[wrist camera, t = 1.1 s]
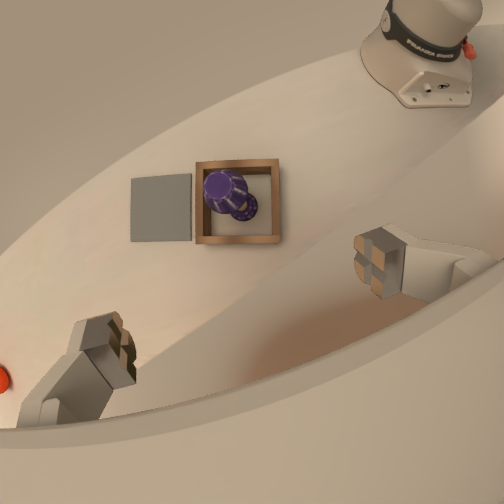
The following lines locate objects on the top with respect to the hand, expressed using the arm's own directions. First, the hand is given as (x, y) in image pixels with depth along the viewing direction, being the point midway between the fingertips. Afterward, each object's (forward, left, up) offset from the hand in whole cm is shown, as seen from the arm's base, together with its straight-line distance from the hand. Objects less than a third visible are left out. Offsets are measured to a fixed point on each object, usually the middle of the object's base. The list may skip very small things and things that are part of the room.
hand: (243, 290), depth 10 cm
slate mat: (+17, -7, -35) cm, 39 cm away
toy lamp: (+4, -7, -35) cm, 36 cm away
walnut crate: (+4, -7, -35) cm, 36 cm away
